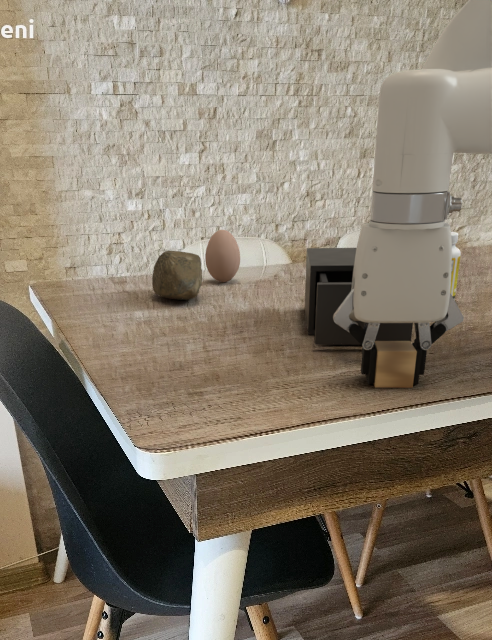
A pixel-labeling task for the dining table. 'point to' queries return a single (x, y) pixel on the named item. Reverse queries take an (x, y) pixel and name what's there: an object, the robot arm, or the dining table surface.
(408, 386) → the block
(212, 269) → the egg
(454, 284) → the pill bottle
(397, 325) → the pull-out drawer
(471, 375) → the dining table surface
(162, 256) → the stone
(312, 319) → the dark grey drawer unit
